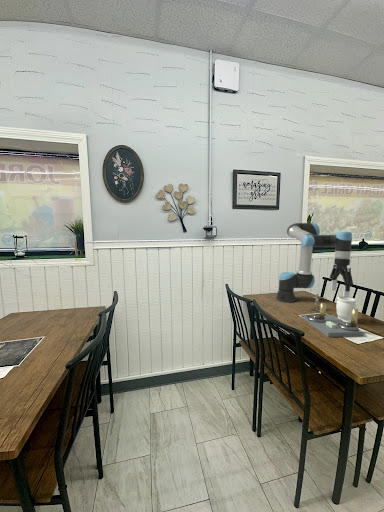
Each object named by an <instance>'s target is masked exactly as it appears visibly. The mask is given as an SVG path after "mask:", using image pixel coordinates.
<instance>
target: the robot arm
mask: <svg viewBox="0 0 384 512" xmlns="http://www.w3.org/2000/svg"><path fill="white" fill-rule="evenodd" d="M320 231H321V230H320V227H319V225H318V224H317V223H316V222H296V223H295V222H294V223H293V224H291V225H289V226H288V227H287V229H286V234H287V235H288V236H289V238H291V239H296V240H298V241H300V242H301V243H300V250H299V251H300V252H299V264H298V265H299V266H298V270H296V273H295V272H293V271H286V272H284V271H283V272H281V273H280V274H279V276H278V277H279V278H278V290H277V293H276V295H275V299H276V300H277V301H279V302H283V303H294V302H296V296H295V292H294V291H295V289H311V288H313V287H314V285H315V282H316V280H315V275H314V274H313V272H312V271H311V268H312V267H311V266H312V258H313V257H312V256H313V248H334V249H335V250H334V257H335V258H334V263H333V266H332V270H331V273H330V276H329V279H331V285H330V288H331V289H330V290H331V291H337V287H338V286H337V285H338V277H339V275H341V276H342V279H343V282H344V285H343V295H342V296H344V297H350V293H351V291H350V290H351V286H354V282H353V277H352V271H351V270H352V268H350V267H348V266H350V265H351V259H350V258H351V254H352V252H351V250H352V242H353V232H351V231H337V232H336V234H320V233H321V232H320Z"/></svg>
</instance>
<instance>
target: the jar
mask: <svg viewBox="0 0 384 512" xmlns="http://www.w3.org/2000/svg"><path fill="white" fill-rule="evenodd" d="M336 299H337V301H336V307H335V308H336V315H337V316H336V317H337V318H339V319H341V320H343V321H344V322H347V323H351V315H352V308H355V309H357V304H356V303H357V299H356V298H353V297H350V296H349V297H344V296H343V295H339V296H337V298H336Z"/></svg>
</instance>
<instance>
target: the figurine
mask: <svg viewBox="0 0 384 512" xmlns="http://www.w3.org/2000/svg"><path fill="white" fill-rule="evenodd" d="M308 298H311V299H314V301H315V304H314V307H312V308H311V310H312V311H313V312H319V313H320V305H319V301H320V299H324V297H322V296H321V297H320V296H319V293H316V296H309V297H308Z"/></svg>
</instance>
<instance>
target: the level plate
mask: <svg viewBox="0 0 384 512" xmlns="http://www.w3.org/2000/svg"><path fill="white" fill-rule="evenodd" d="M317 315H318V316H319V314H317ZM337 317H338V316H336V315H334V314H325V321H324V322H314V321H311V320H309V319H307V315H303V320H304V321H305V322H307V323H308V324H310V325H311V326H312V327H314V328H315V329H316V330H318V331H320V333H322V334H324V335H325V336H326V337H328V338H337V337H338V338H339V337H340V338H342V337H345V338H346V337H348V338H349V337H363V331H362V330H360V329H358V330H357V331H349V330H345V329H342V328H340V327H339V326H338V323H339V322H344V321H343V320H341V319H339V318H337Z"/></svg>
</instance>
